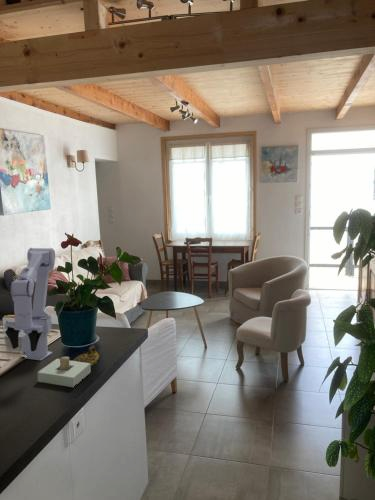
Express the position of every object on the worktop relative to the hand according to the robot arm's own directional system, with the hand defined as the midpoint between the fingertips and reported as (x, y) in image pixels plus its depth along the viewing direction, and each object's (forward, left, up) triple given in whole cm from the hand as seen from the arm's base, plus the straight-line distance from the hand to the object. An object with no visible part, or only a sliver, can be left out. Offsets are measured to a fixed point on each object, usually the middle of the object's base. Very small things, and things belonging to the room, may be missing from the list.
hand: (24, 349), depth 144 cm
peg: (+15, +2, -9) cm, 18 cm away
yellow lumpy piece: (+16, +17, -10) cm, 25 cm away
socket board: (+15, +2, -9) cm, 18 cm away
